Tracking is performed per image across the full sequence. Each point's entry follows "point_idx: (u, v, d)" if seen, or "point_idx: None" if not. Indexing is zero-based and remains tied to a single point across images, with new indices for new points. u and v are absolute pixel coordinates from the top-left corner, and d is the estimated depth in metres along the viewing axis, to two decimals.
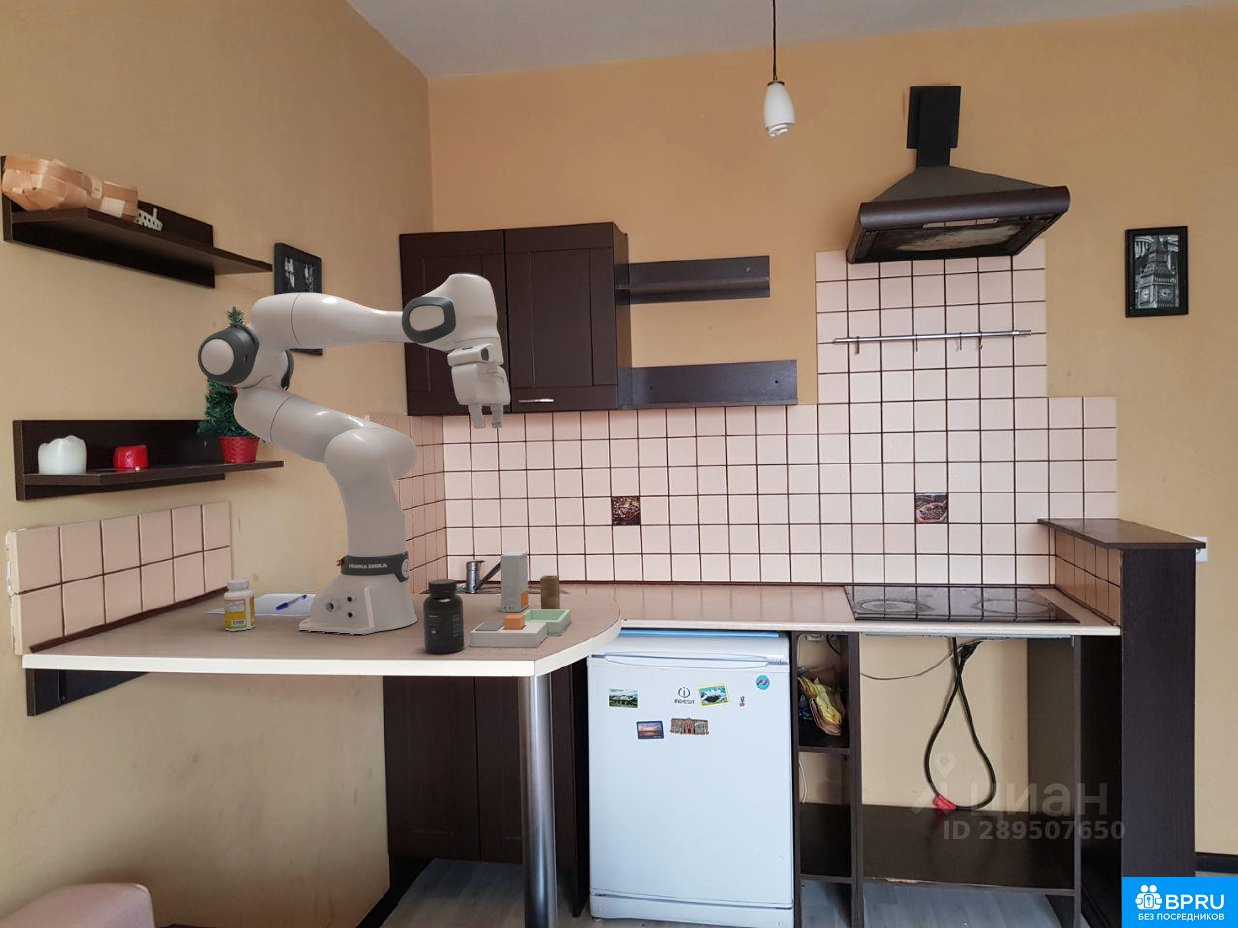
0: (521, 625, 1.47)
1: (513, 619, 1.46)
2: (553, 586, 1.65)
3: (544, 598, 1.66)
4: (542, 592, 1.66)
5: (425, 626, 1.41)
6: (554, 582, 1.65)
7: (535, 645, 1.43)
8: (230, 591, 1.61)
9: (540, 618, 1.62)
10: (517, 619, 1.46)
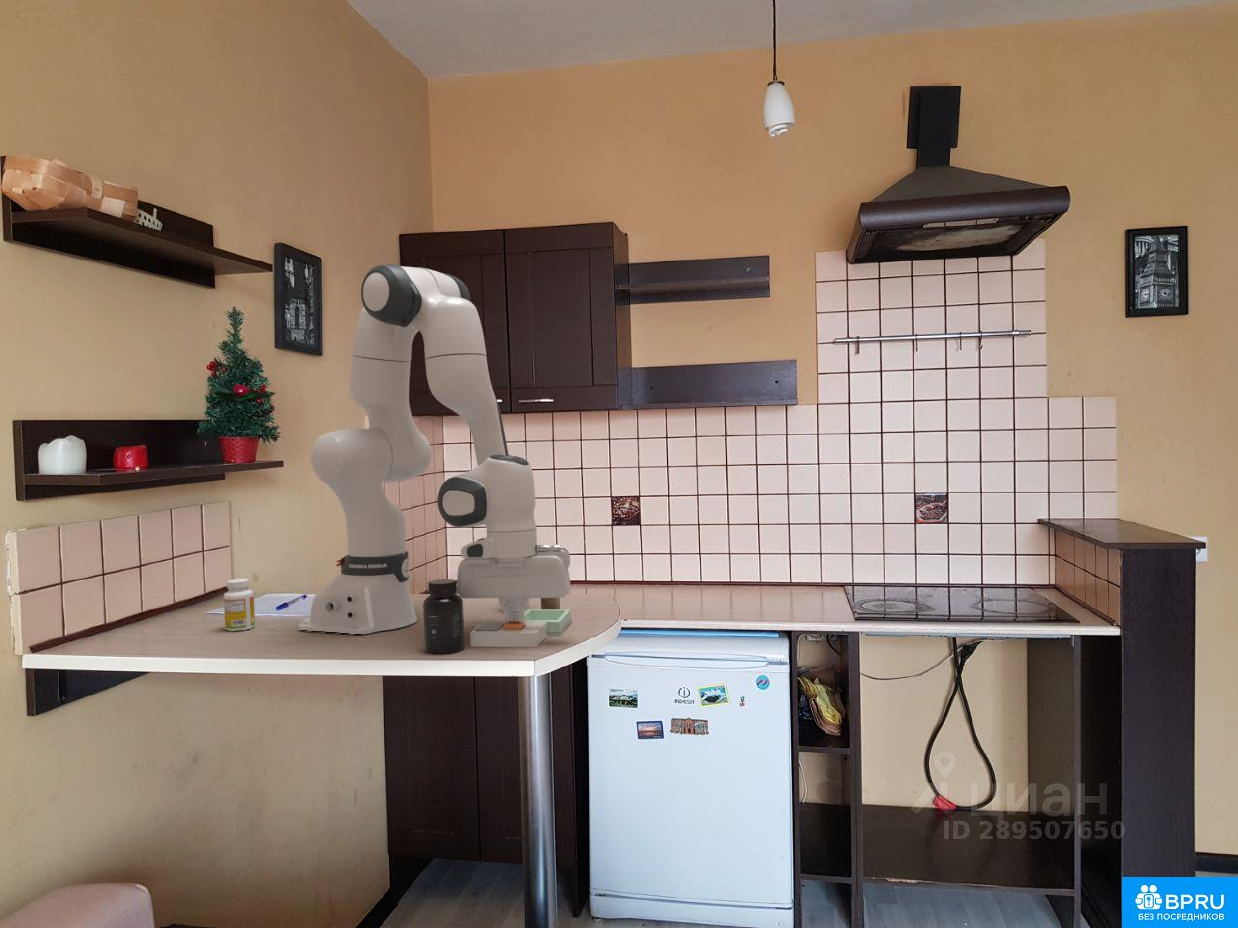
0: None
1: (513, 625, 1.46)
2: None
3: (544, 598, 1.66)
4: None
5: (425, 626, 1.41)
6: None
7: (535, 645, 1.43)
8: (230, 591, 1.61)
9: (540, 618, 1.62)
10: (517, 625, 1.46)
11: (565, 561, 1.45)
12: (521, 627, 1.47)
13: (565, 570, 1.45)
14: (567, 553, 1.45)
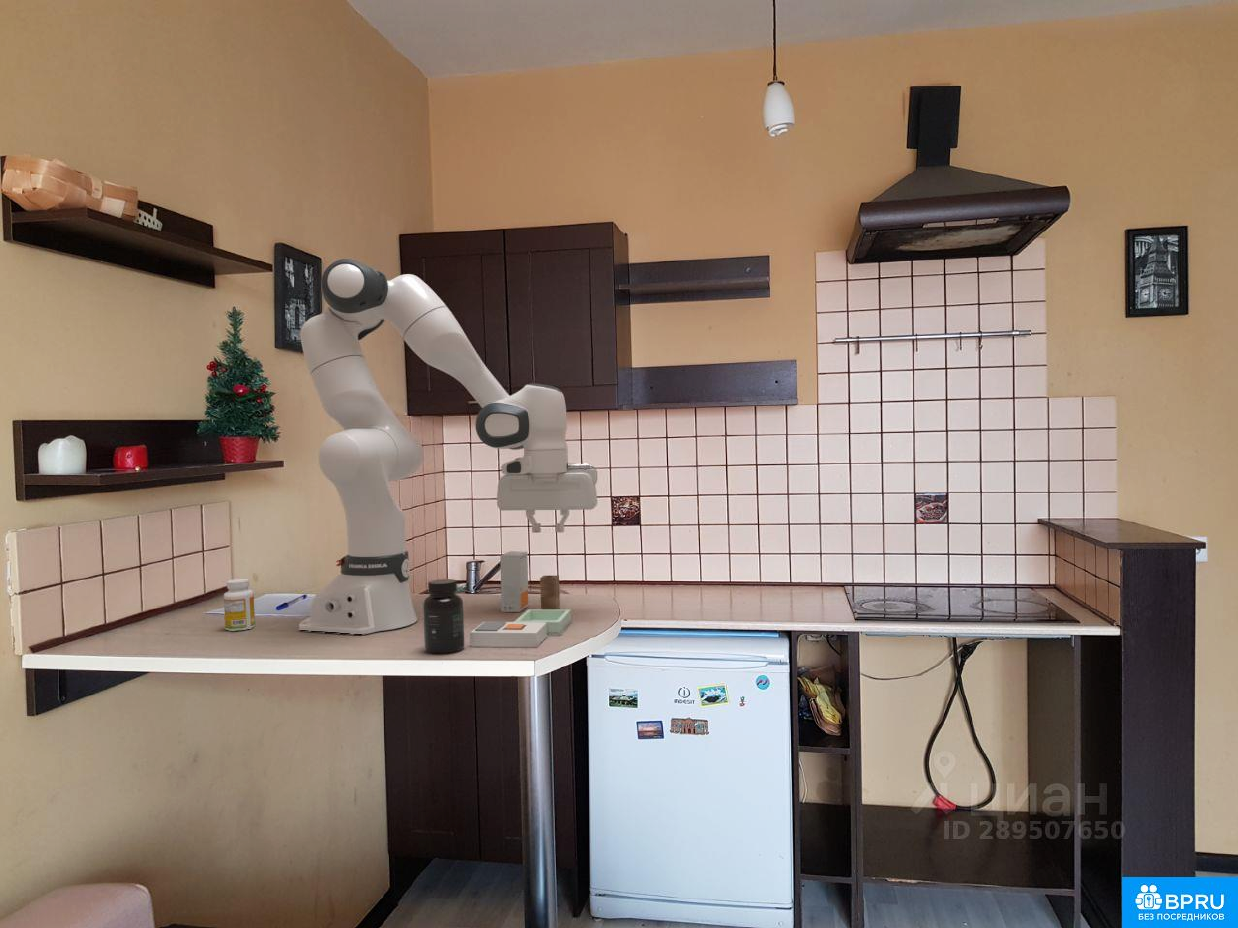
0: None
1: (513, 629, 1.46)
2: (553, 586, 1.65)
3: (544, 598, 1.66)
4: (542, 592, 1.66)
5: (425, 626, 1.41)
6: (554, 582, 1.65)
7: (535, 645, 1.43)
8: (230, 591, 1.61)
9: (540, 618, 1.62)
10: (517, 629, 1.46)
11: (593, 477, 1.65)
12: None
13: (593, 485, 1.64)
14: (595, 470, 1.64)
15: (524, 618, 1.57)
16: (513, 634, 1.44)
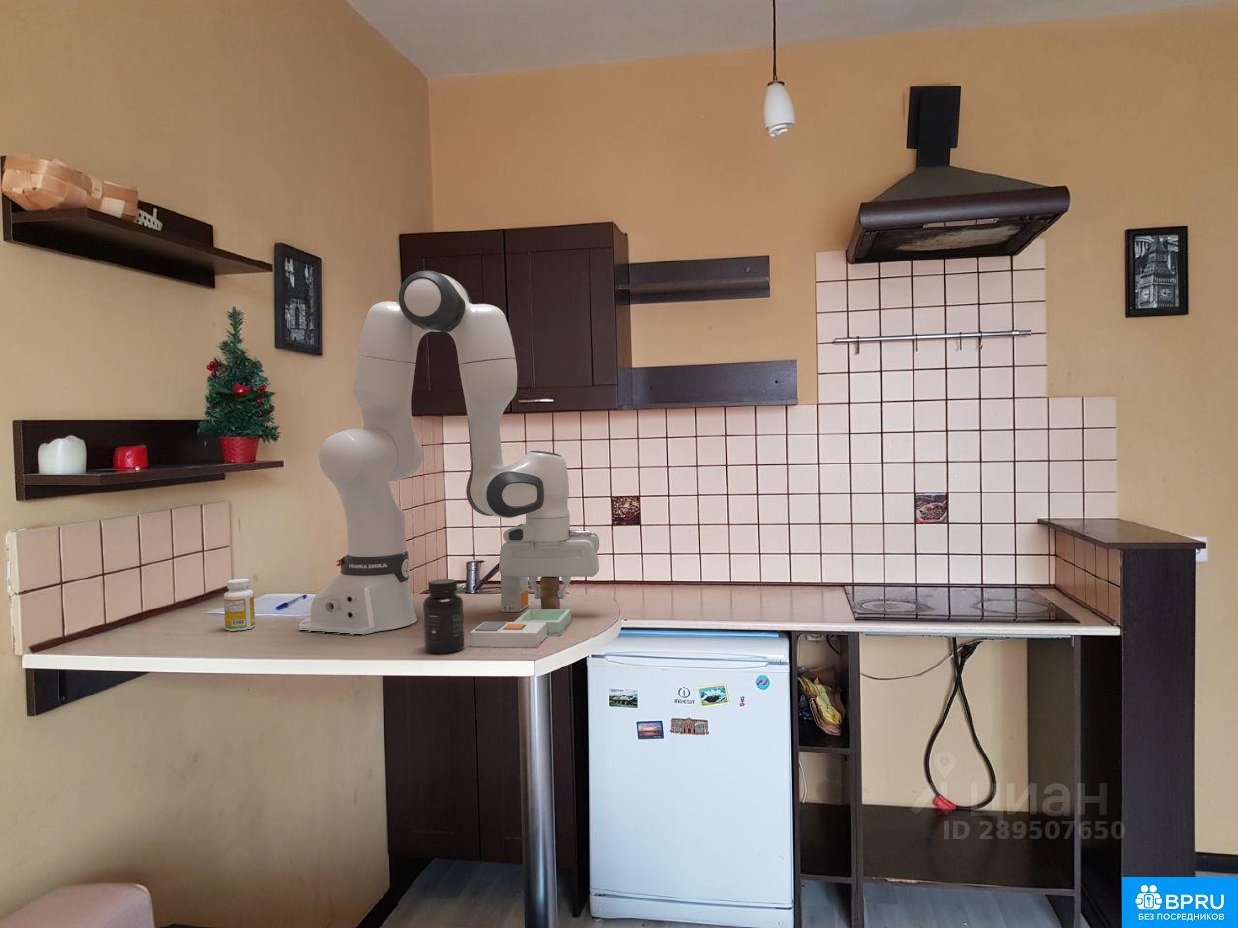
0: None
1: (513, 629, 1.46)
2: (553, 586, 1.65)
3: (544, 598, 1.66)
4: (542, 592, 1.66)
5: (425, 626, 1.41)
6: (554, 582, 1.65)
7: (535, 645, 1.43)
8: (230, 591, 1.61)
9: (540, 618, 1.62)
10: (517, 629, 1.46)
11: (595, 545, 1.65)
12: None
13: (595, 552, 1.65)
14: (597, 537, 1.65)
15: (524, 618, 1.57)
16: (513, 634, 1.44)
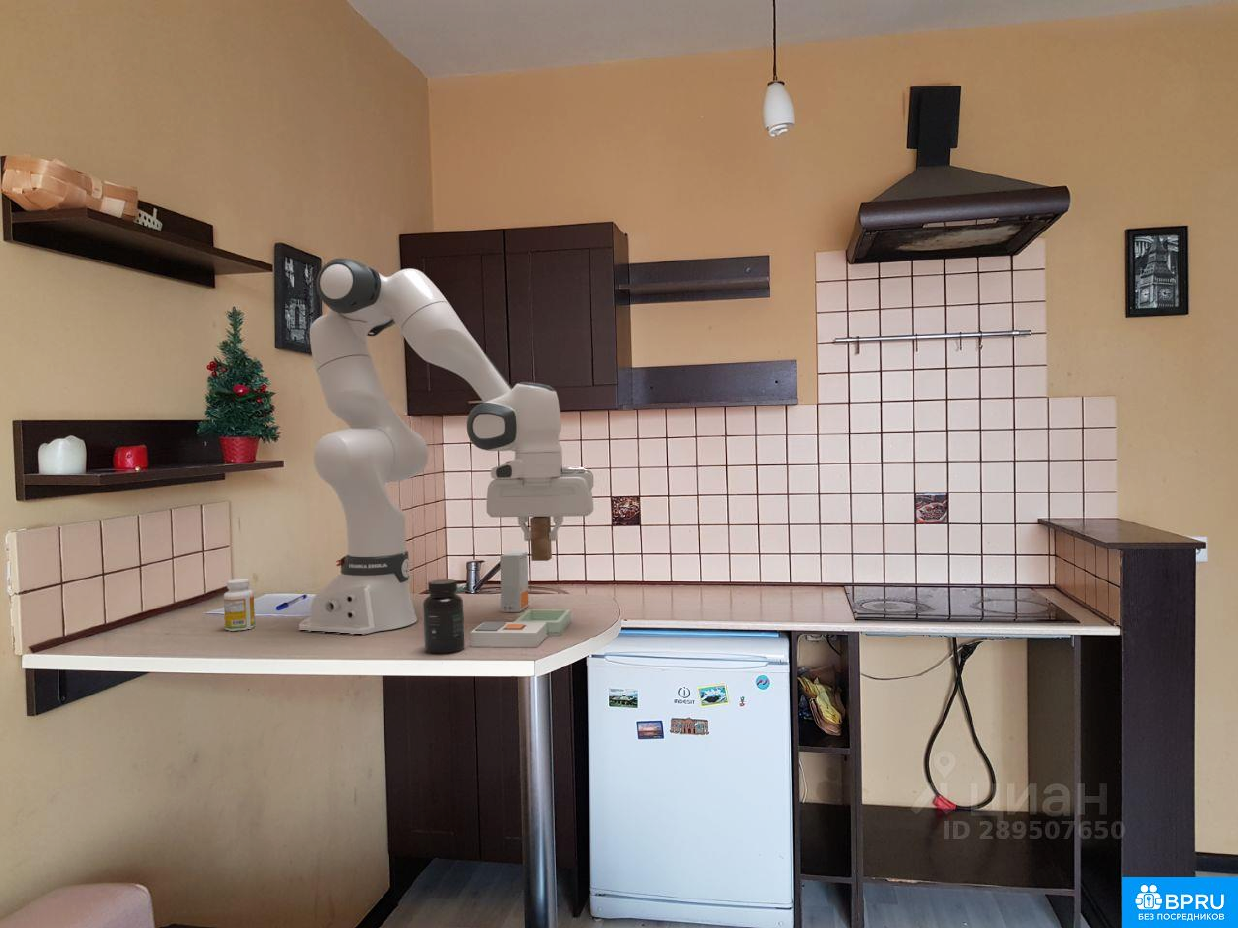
0: None
1: (513, 629, 1.46)
2: (544, 527, 1.54)
3: (535, 540, 1.55)
4: (532, 533, 1.55)
5: (425, 626, 1.41)
6: (545, 522, 1.54)
7: (535, 645, 1.43)
8: (230, 591, 1.61)
9: (540, 618, 1.62)
10: (517, 629, 1.46)
11: (589, 482, 1.54)
12: None
13: (589, 490, 1.54)
14: (591, 474, 1.54)
15: (524, 618, 1.57)
16: (513, 634, 1.44)
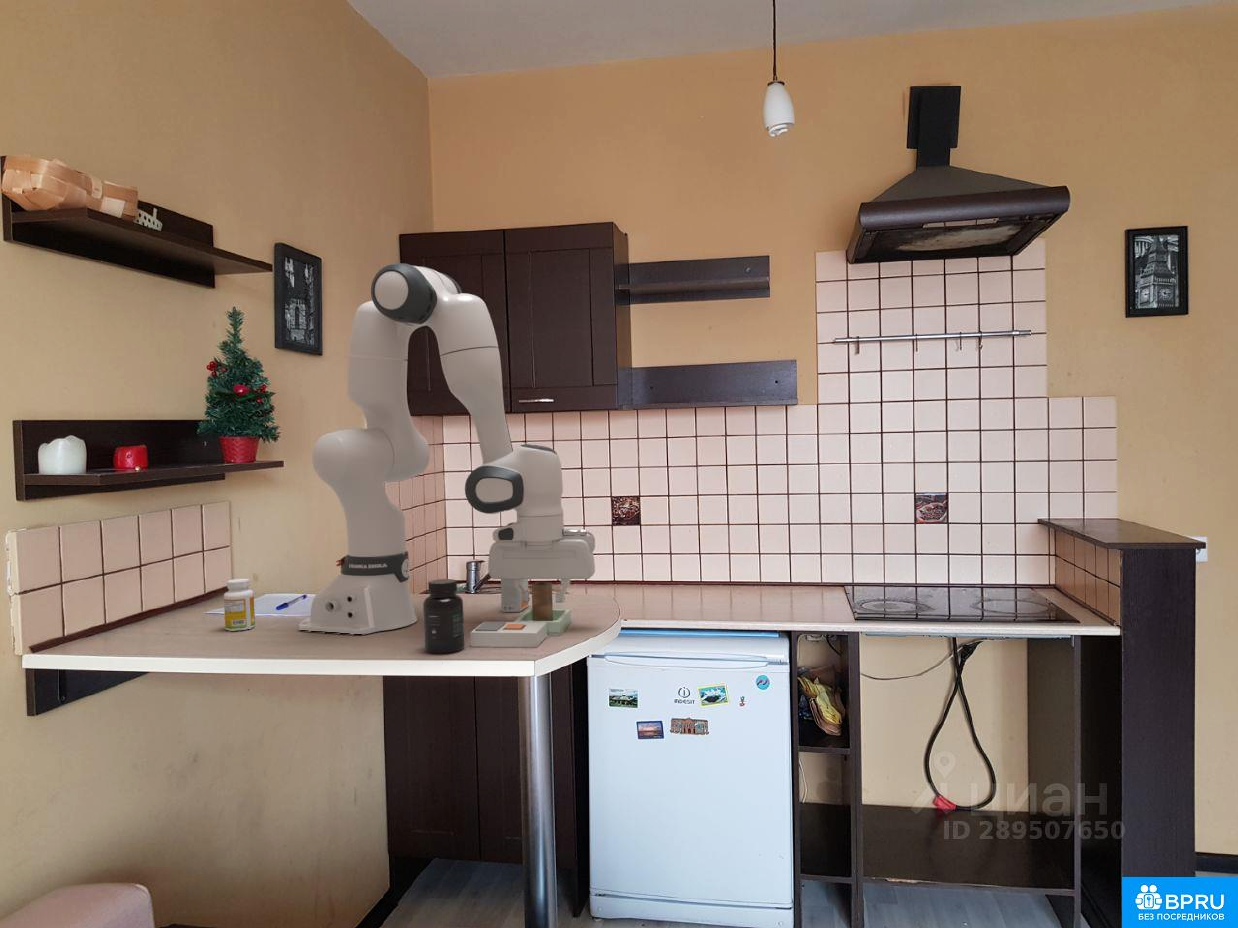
0: None
1: (513, 629, 1.46)
2: (546, 594, 1.55)
3: (536, 606, 1.55)
4: (534, 600, 1.55)
5: (425, 626, 1.41)
6: (546, 589, 1.55)
7: (535, 645, 1.43)
8: (230, 591, 1.61)
9: None
10: (517, 629, 1.46)
11: (590, 545, 1.55)
12: None
13: (590, 553, 1.54)
14: (592, 537, 1.54)
15: (524, 618, 1.57)
16: (513, 634, 1.44)
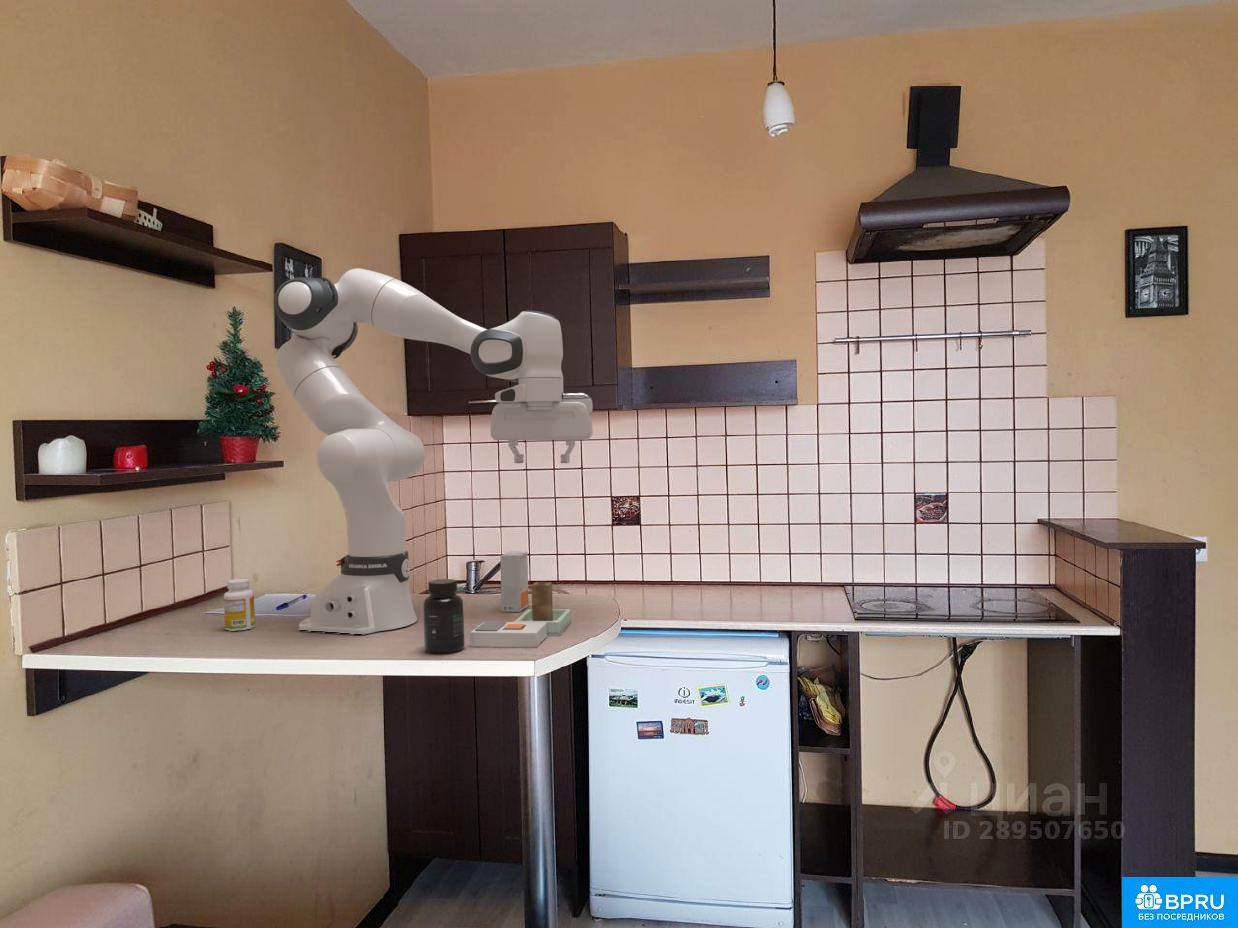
0: None
1: (513, 629, 1.46)
2: (546, 594, 1.55)
3: (536, 606, 1.55)
4: (534, 600, 1.55)
5: (425, 626, 1.41)
6: (546, 589, 1.55)
7: (535, 645, 1.43)
8: (230, 591, 1.61)
9: None
10: (517, 629, 1.46)
11: (588, 407, 1.61)
12: None
13: (588, 415, 1.61)
14: (590, 400, 1.61)
15: (524, 618, 1.57)
16: (513, 634, 1.44)
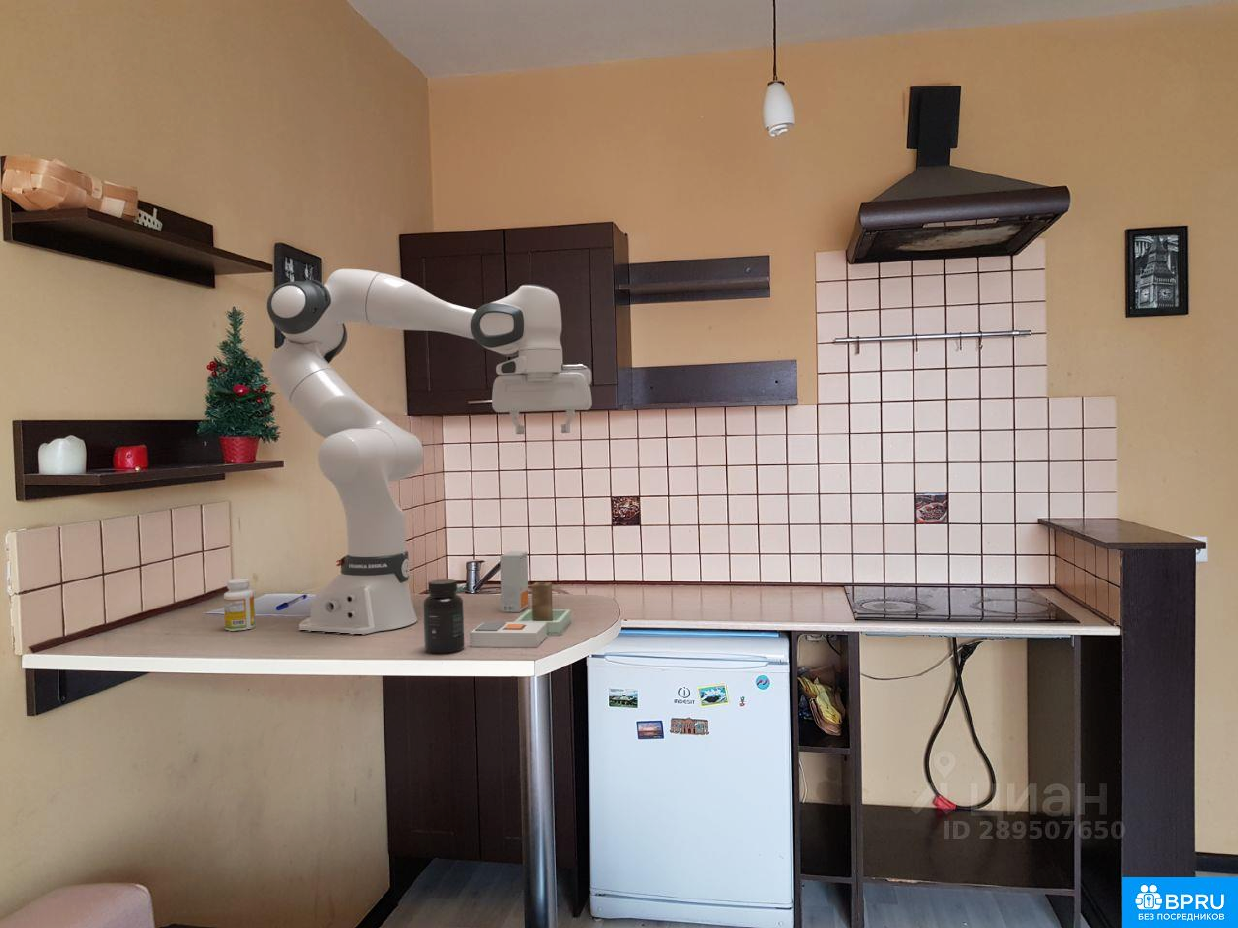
0: None
1: (513, 629, 1.46)
2: (546, 594, 1.55)
3: (536, 606, 1.55)
4: (534, 600, 1.55)
5: (425, 626, 1.41)
6: (546, 589, 1.55)
7: (535, 645, 1.43)
8: (230, 591, 1.61)
9: None
10: (517, 629, 1.46)
11: (587, 378, 1.66)
12: None
13: (587, 386, 1.66)
14: (589, 371, 1.66)
15: (524, 618, 1.57)
16: (513, 634, 1.44)
